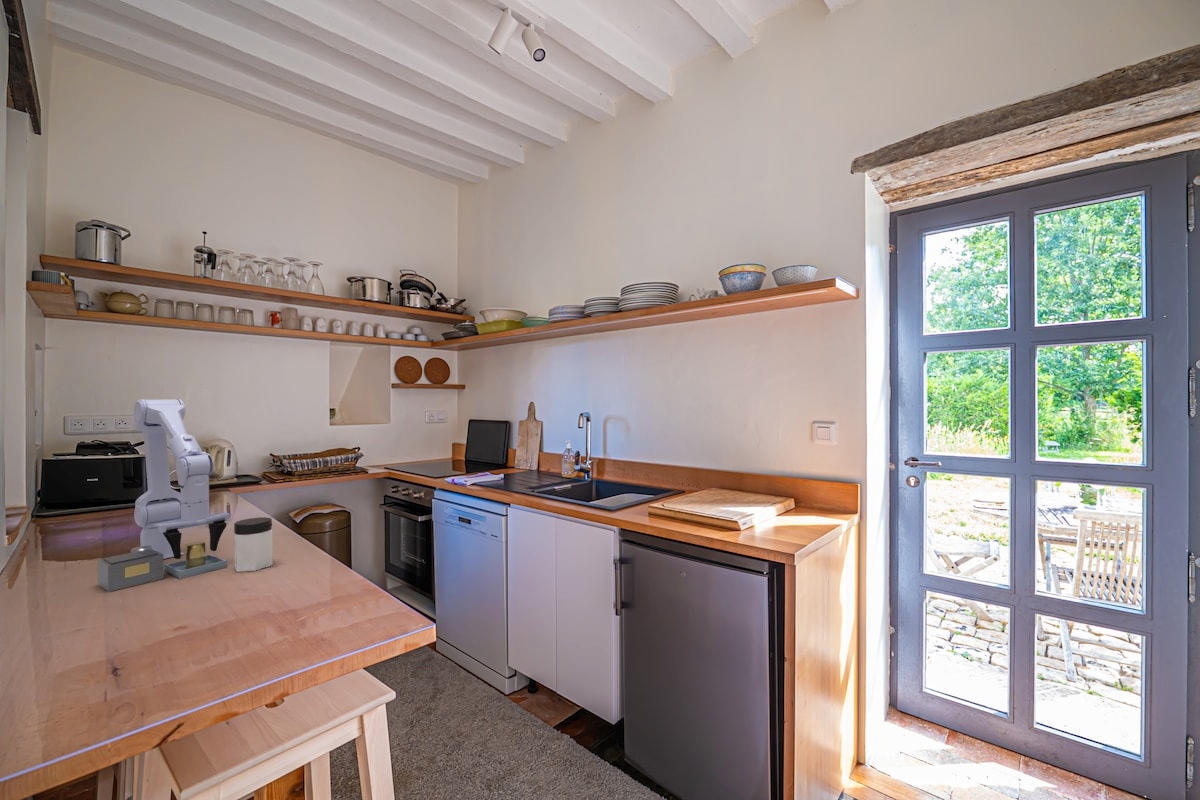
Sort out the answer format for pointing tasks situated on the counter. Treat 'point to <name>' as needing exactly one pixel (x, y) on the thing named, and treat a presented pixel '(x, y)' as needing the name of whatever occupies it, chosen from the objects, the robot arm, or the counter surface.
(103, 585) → the unit
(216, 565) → the tray
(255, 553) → the jar
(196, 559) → the part brass
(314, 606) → the counter surface
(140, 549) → the part grey
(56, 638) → the counter surface
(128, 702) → the counter surface
